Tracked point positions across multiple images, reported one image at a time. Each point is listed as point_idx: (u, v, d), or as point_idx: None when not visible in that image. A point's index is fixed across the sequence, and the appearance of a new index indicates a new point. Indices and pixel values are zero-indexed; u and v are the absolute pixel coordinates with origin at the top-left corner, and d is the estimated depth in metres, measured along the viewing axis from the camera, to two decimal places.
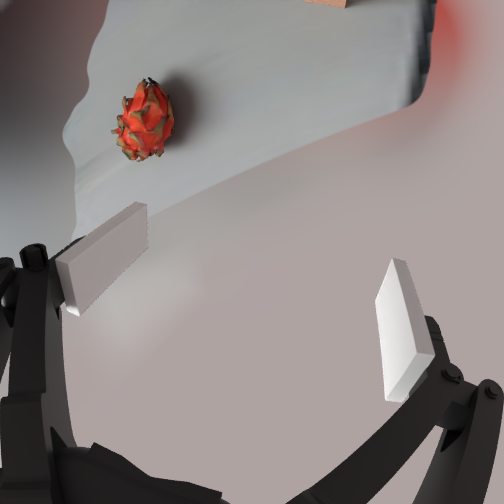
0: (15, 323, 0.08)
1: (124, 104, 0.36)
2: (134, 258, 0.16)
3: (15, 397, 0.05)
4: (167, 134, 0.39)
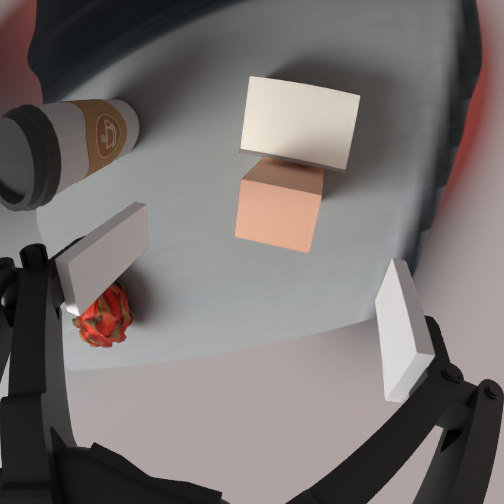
0: (15, 323, 0.08)
1: None
2: (134, 258, 0.16)
3: (15, 397, 0.05)
4: (126, 328, 0.39)
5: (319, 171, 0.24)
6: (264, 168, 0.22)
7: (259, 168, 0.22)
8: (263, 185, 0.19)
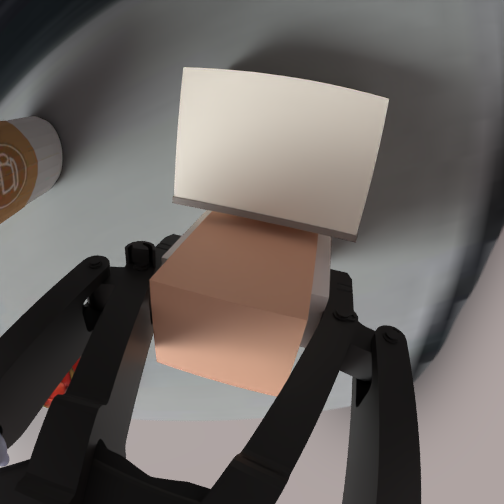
0: (99, 320, 0.09)
1: None
2: None
3: (71, 400, 0.06)
4: None
5: (310, 233, 0.14)
6: (209, 237, 0.13)
7: (199, 239, 0.12)
8: (189, 293, 0.10)
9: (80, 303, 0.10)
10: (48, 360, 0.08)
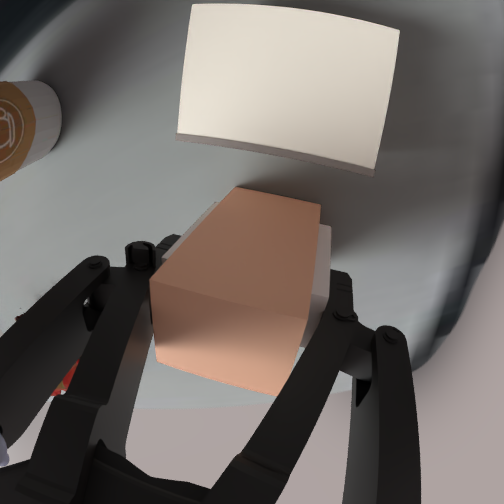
0: (99, 320, 0.09)
1: None
2: None
3: (71, 400, 0.06)
4: None
5: (310, 233, 0.14)
6: (209, 237, 0.13)
7: (199, 239, 0.12)
8: (189, 293, 0.10)
9: (80, 303, 0.10)
10: (48, 360, 0.08)
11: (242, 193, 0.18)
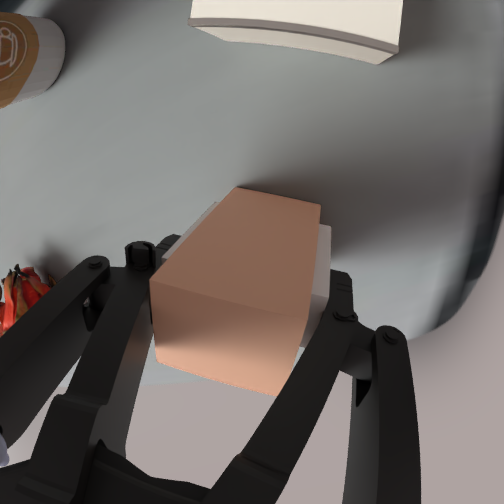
0: (99, 320, 0.09)
1: None
2: None
3: (71, 400, 0.06)
4: None
5: (310, 233, 0.14)
6: (209, 237, 0.13)
7: (199, 239, 0.12)
8: (189, 293, 0.10)
9: (80, 303, 0.10)
10: (48, 360, 0.08)
11: (242, 193, 0.18)
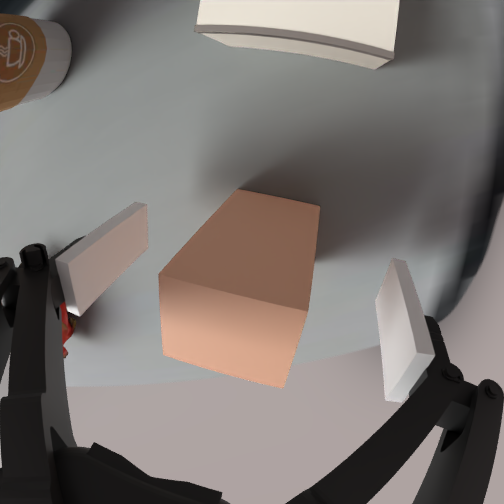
0: (15, 323, 0.08)
1: None
2: (134, 258, 0.16)
3: (15, 397, 0.05)
4: (63, 341, 0.26)
5: (310, 232, 0.15)
6: (213, 235, 0.13)
7: (204, 237, 0.13)
8: (196, 287, 0.10)
9: None
10: None
11: (244, 195, 0.18)
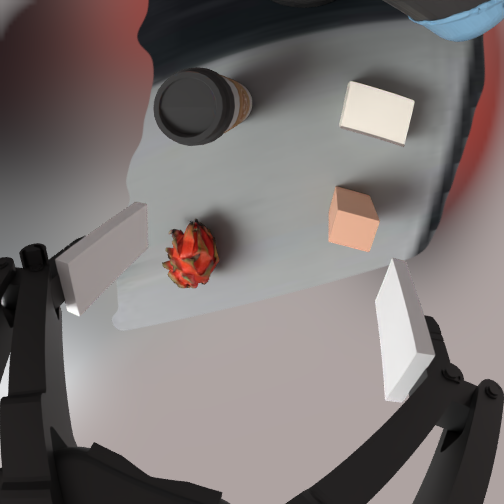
0: (15, 323, 0.08)
1: (175, 246, 0.46)
2: (134, 258, 0.16)
3: (15, 397, 0.05)
4: (212, 270, 0.50)
5: (370, 203, 0.39)
6: (343, 201, 0.37)
7: (341, 202, 0.37)
8: (349, 213, 0.34)
9: None
10: None
11: (340, 188, 0.42)
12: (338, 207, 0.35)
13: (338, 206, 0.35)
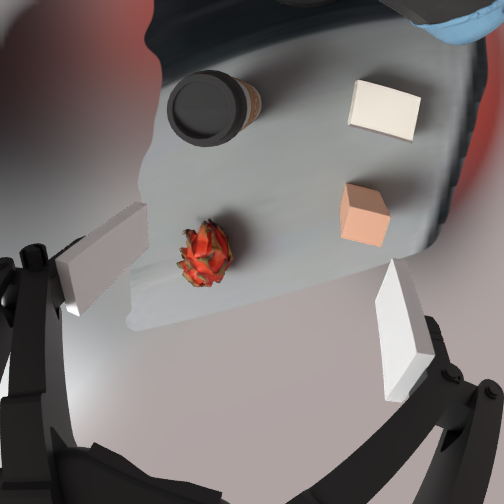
0: (15, 323, 0.08)
1: (189, 246, 0.47)
2: (134, 258, 0.16)
3: (15, 397, 0.05)
4: None
5: (380, 199, 0.39)
6: (354, 198, 0.38)
7: (352, 198, 0.38)
8: (361, 209, 0.35)
9: None
10: None
11: (350, 185, 0.43)
12: (350, 204, 0.36)
13: (350, 203, 0.36)
